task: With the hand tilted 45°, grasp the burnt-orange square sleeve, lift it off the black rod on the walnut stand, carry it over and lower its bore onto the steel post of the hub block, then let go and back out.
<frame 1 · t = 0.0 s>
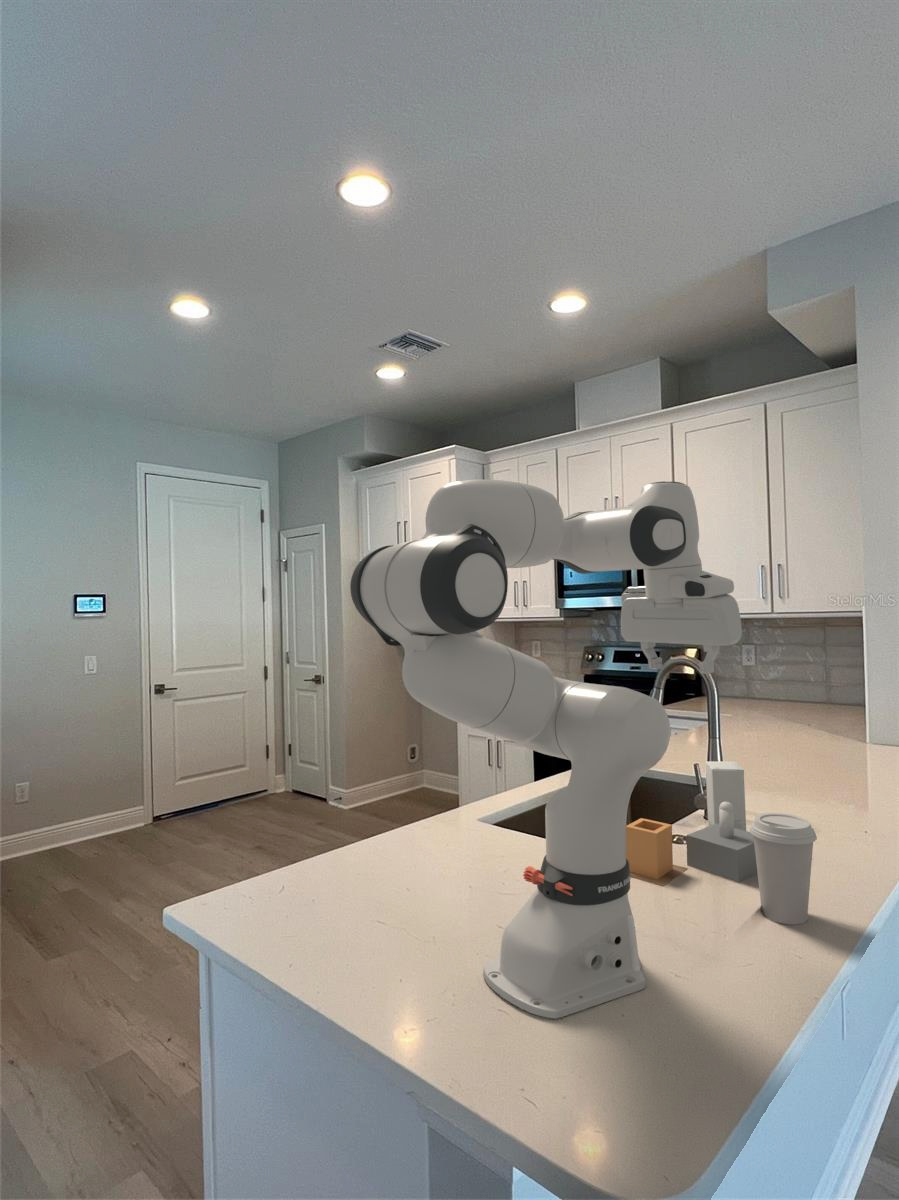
hand: (680, 670, 111), 39 cm above the counter, tool pointing down, fingers open, 8 cm apart
sleeve: (649, 869, 125), point 1 cm above the counter, touching stand
hub: (727, 874, 126), on the counter
stand: (649, 878, 125), on the counter
coffee cup: (784, 916, 110), on the counter
skincare box: (725, 840, 144), on the counter
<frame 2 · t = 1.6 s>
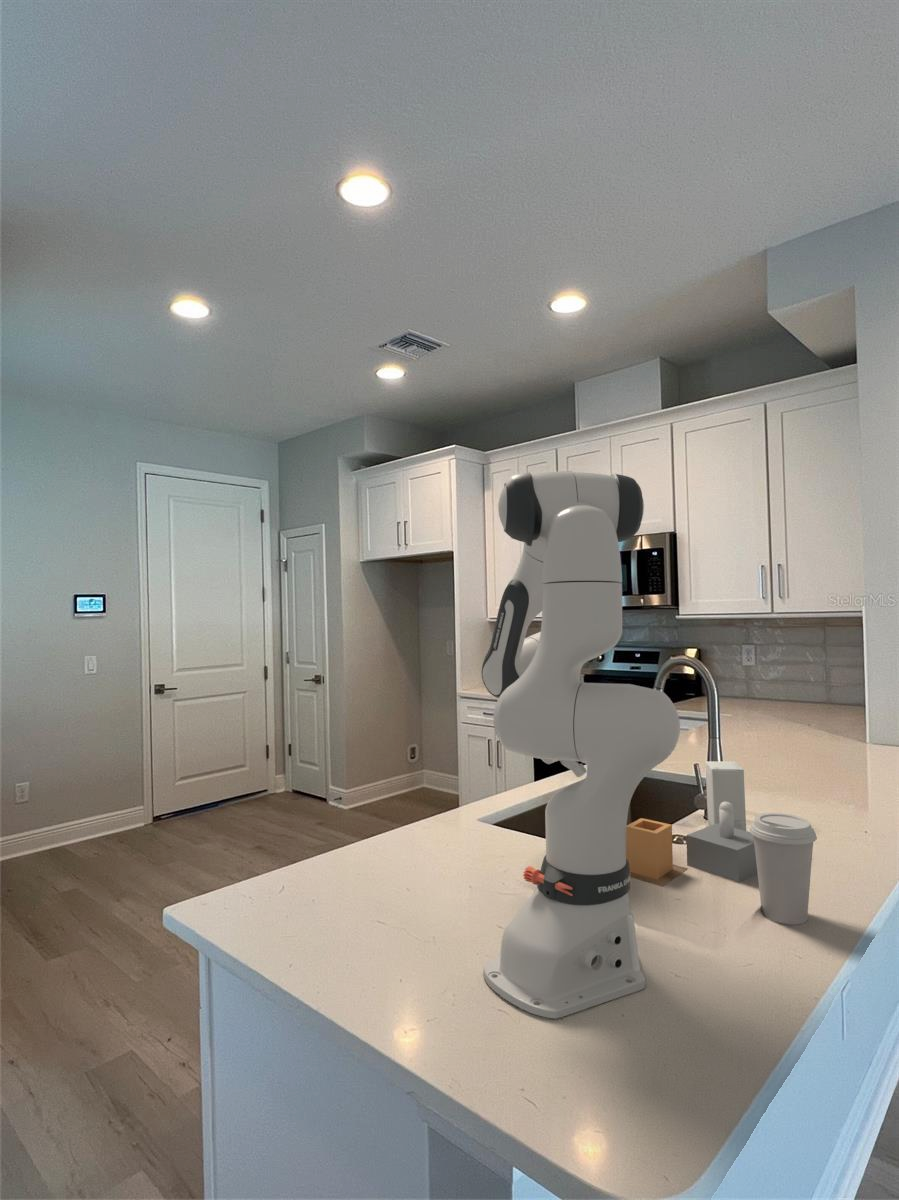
hand: (597, 768, 134), 18 cm above the counter, tool tilted 45°, fingers open, 8 cm apart
nothing on the counter moved.
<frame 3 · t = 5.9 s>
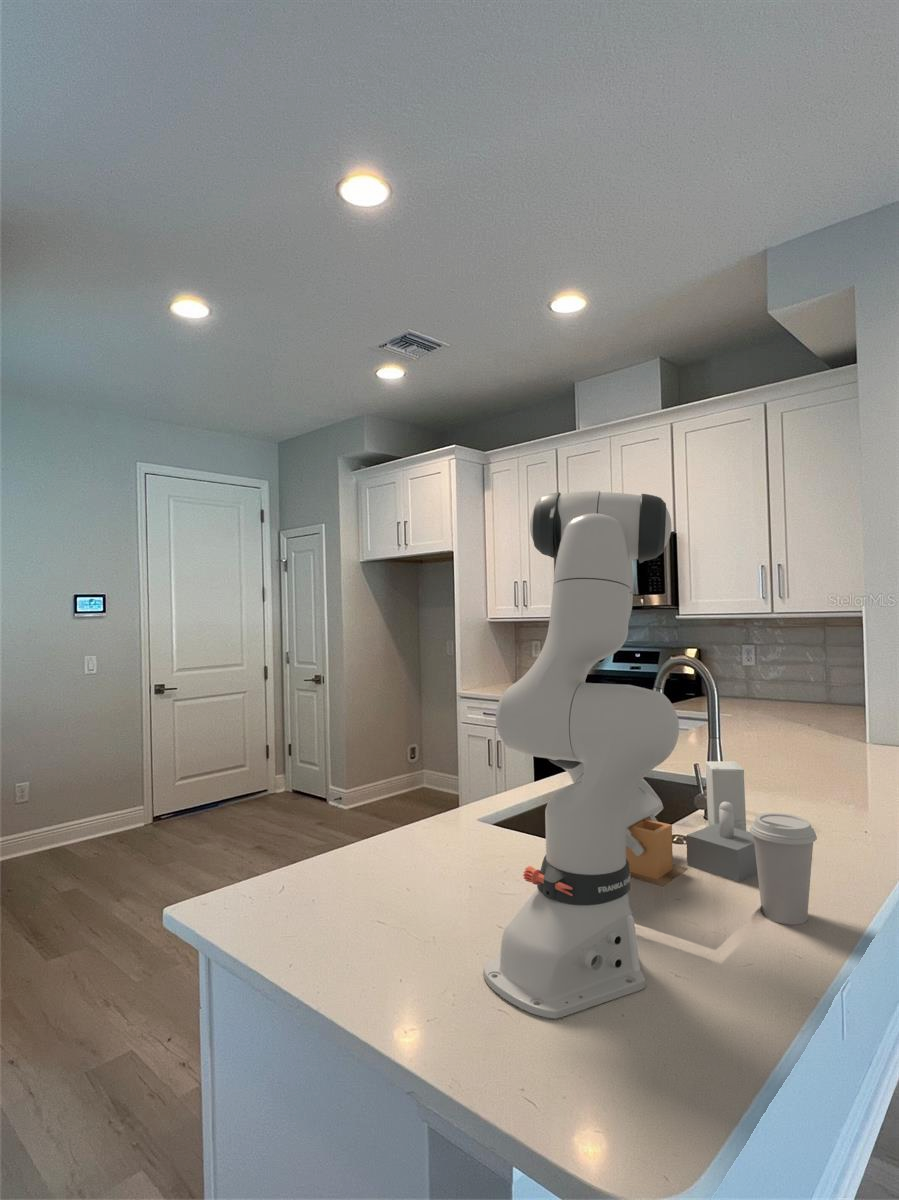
hand: (652, 847, 125), 6 cm above the counter, tool tilted 45°, fingers closed on sleeve, 6 cm apart
sleeve: (649, 869, 125), point 2 cm above the counter, touching gripper, stand
everything else where it was.
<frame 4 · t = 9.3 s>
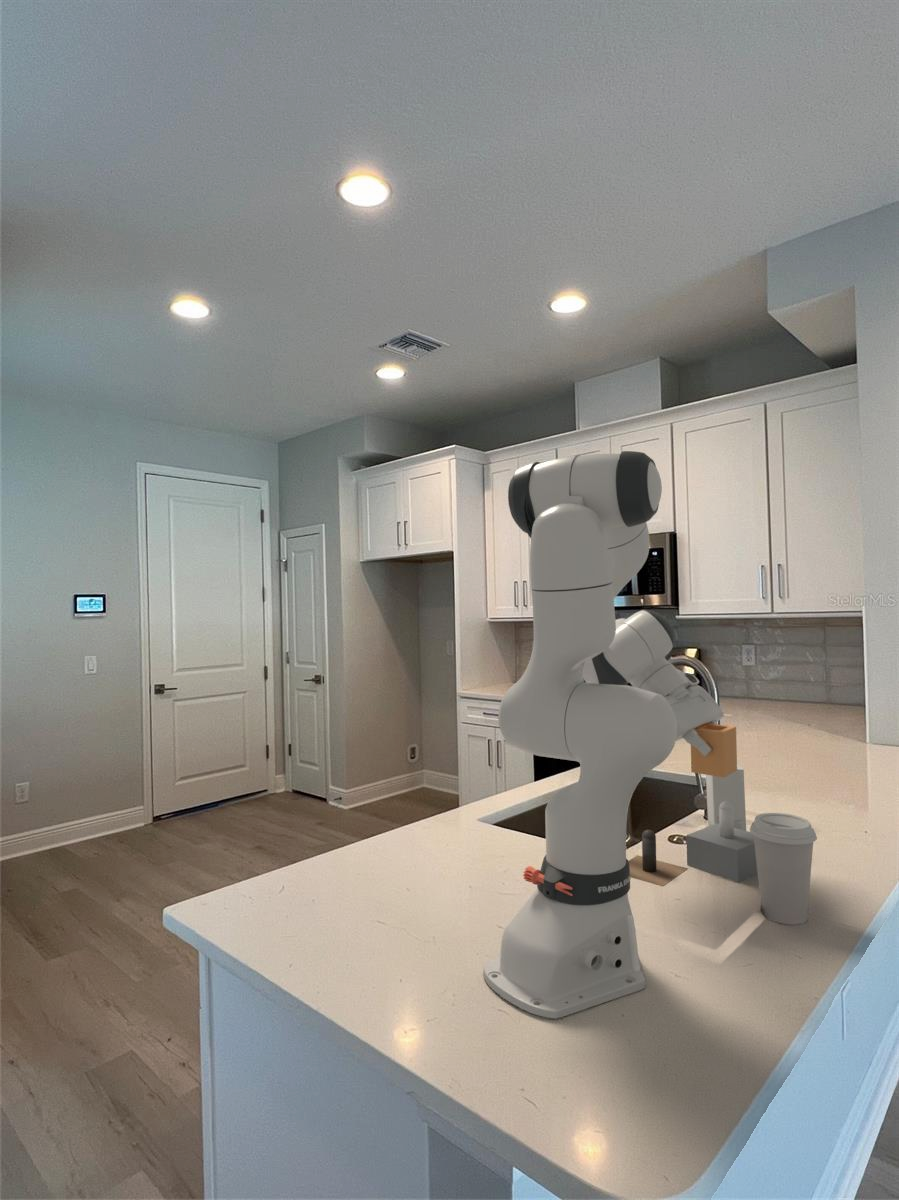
hand: (717, 748, 126), 23 cm above the counter, tool tilted 45°, fingers closed on sleeve, 6 cm apart
sleeve: (714, 771, 127), point 19 cm above the counter, touching gripper
everything else where it was.
when the fingers open (13 cm above the counter, at t = 13.0 s): sleeve drops 1 cm, resting on hub.
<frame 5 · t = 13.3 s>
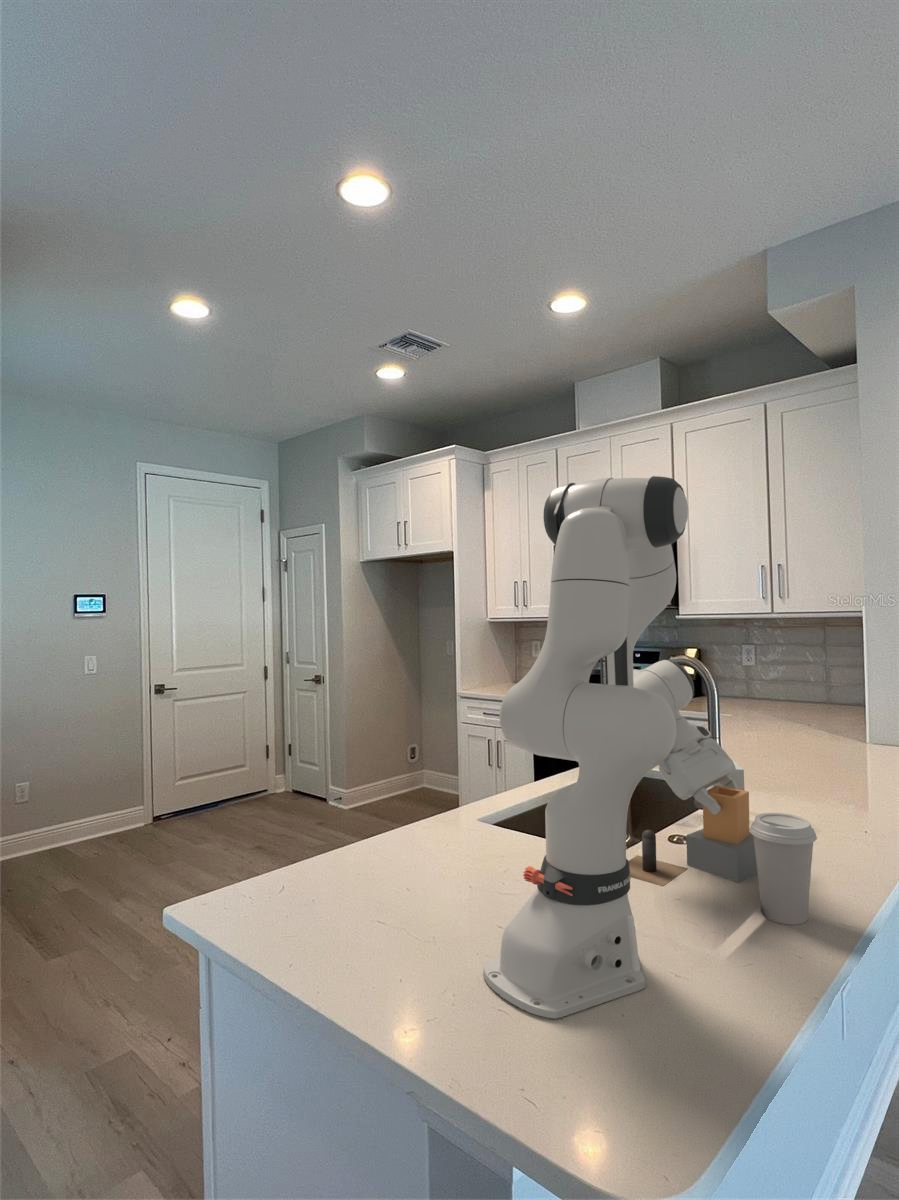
hand: (729, 805, 126), 13 cm above the counter, tool tilted 45°, fingers open, 8 cm apart
sleeve: (726, 836, 126), point 7 cm above the counter, touching hub
everything else where it was.
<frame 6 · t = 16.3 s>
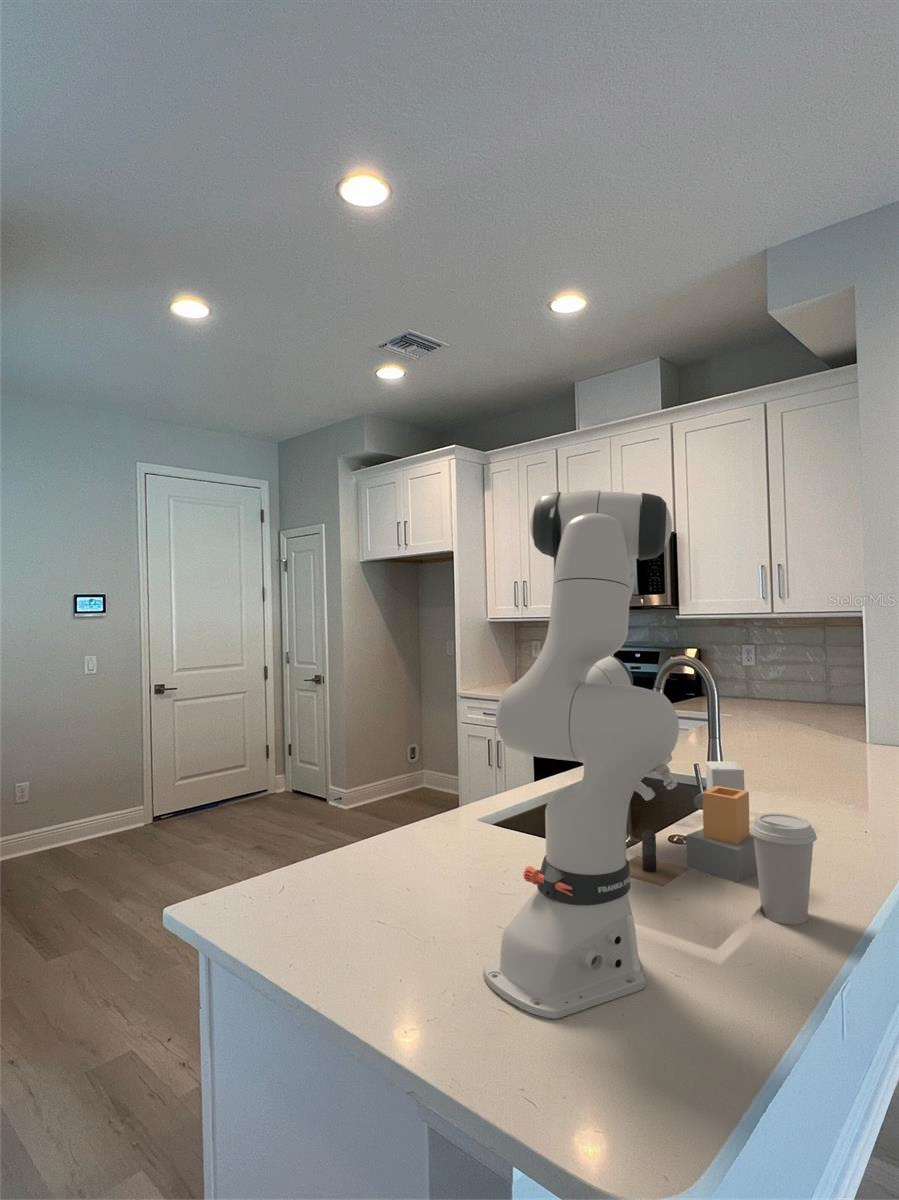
hand: (662, 792, 135), 13 cm above the counter, tool tilted 45°, fingers open, 8 cm apart
nothing on the counter moved.
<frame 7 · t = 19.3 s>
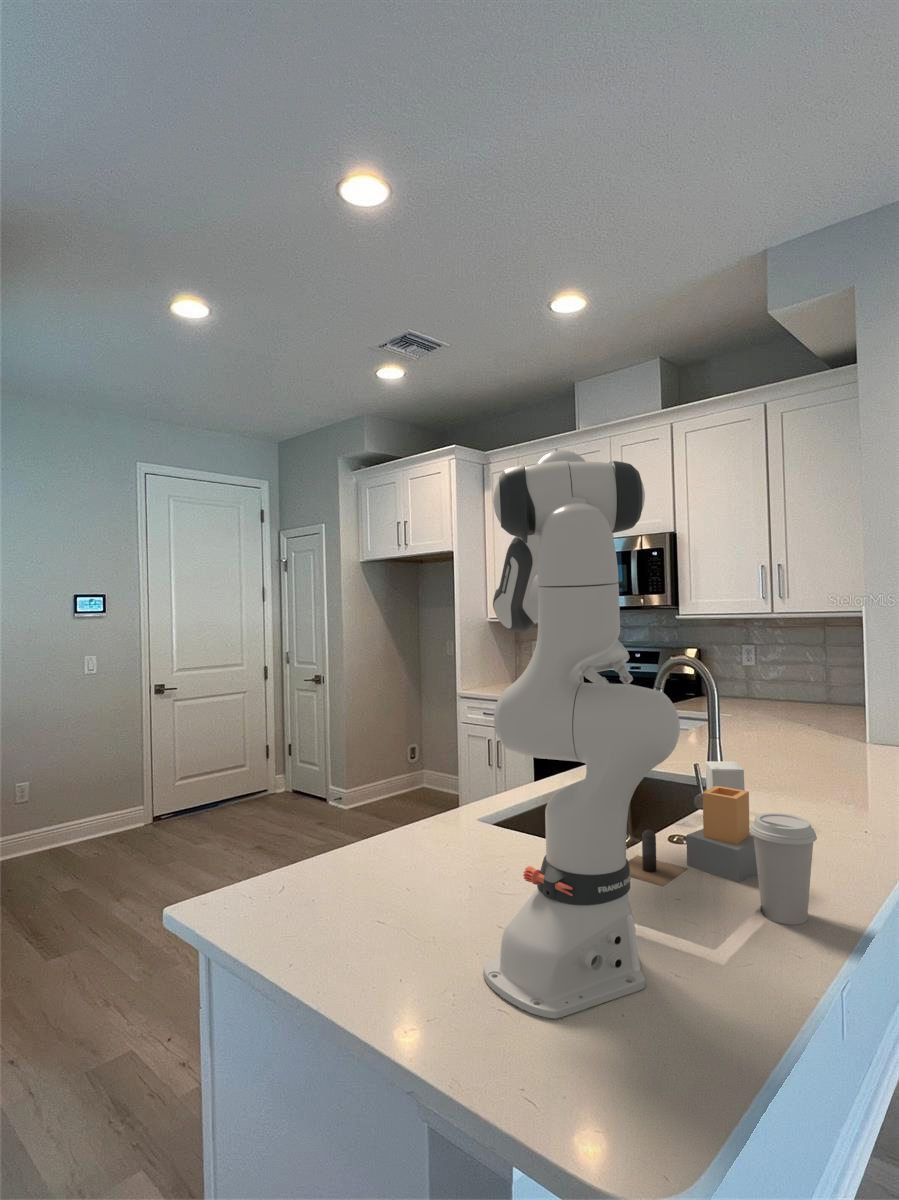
hand: (617, 684, 138), 33 cm above the counter, tool tilted 45°, fingers open, 8 cm apart
nothing on the counter moved.
at the end: sleeve 0.0 cm off-centre on the hub, point 7.0 cm above the hub's base; sleeve tilted 0°; the gripper is holding nothing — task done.
